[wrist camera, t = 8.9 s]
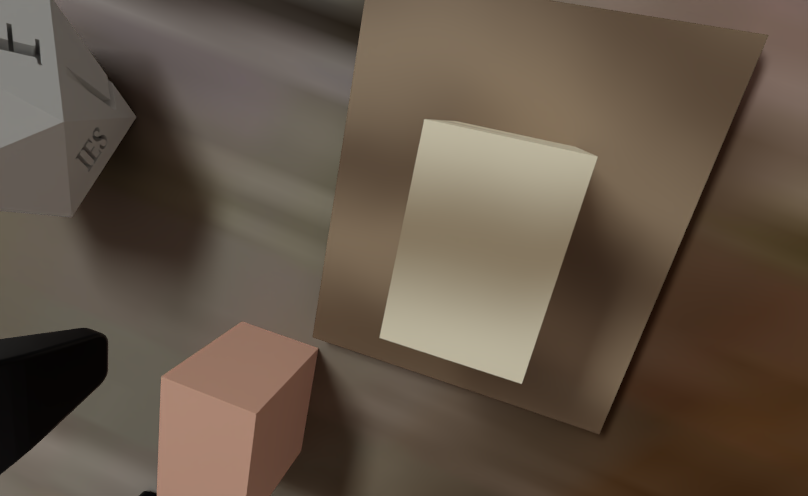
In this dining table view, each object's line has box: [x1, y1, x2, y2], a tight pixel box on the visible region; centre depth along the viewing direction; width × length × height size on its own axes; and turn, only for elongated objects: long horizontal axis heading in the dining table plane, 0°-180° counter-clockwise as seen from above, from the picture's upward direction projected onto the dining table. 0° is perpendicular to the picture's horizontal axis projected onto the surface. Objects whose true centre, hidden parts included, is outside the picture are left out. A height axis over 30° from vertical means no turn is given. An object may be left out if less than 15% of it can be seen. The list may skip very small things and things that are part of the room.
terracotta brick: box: [157, 322, 318, 496], centre depth 19 cm, size 6×4×5 cm, turn 168°
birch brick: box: [379, 119, 598, 384], centre depth 13 cm, size 6×4×5 cm, turn 169°
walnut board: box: [313, 0, 768, 434], centre depth 16 cm, size 14×12×1 cm
